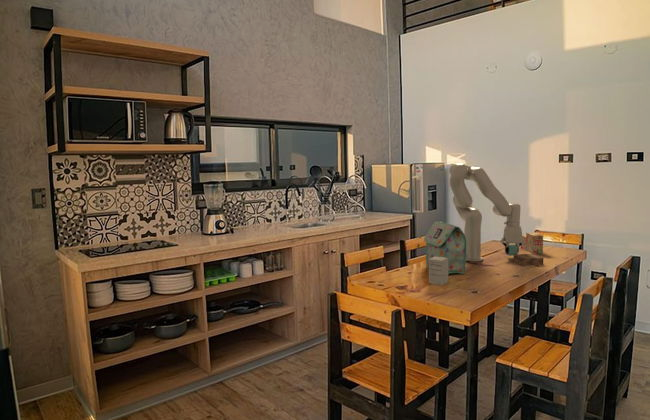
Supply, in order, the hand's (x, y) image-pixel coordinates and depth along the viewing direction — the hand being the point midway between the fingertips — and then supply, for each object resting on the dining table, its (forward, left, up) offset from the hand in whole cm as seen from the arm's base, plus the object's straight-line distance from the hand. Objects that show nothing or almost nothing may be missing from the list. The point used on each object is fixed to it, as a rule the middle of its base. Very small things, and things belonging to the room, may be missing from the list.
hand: (511, 253), depth 281 cm
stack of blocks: (+21, +21, -4) cm, 30 cm away
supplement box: (-58, -53, -3) cm, 79 cm away
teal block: (0, 0, -1) cm, 1 cm away
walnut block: (+4, -14, -3) cm, 15 cm away
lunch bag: (-48, -27, -4) cm, 55 cm away
